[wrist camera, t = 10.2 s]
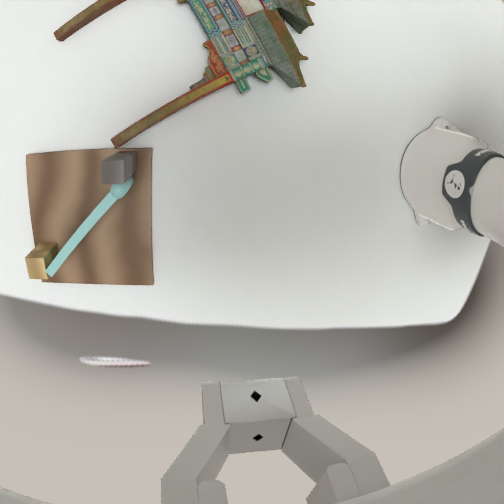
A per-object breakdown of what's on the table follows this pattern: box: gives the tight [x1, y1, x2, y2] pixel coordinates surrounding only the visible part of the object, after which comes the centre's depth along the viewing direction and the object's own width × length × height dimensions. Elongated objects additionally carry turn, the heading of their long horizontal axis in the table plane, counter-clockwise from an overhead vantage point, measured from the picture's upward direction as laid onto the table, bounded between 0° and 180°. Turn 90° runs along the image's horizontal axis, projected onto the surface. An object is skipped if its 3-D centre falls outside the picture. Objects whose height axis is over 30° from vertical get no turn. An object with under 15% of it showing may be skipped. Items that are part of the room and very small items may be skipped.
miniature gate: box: [54, 0, 315, 148], centre depth 29 cm, size 27×6×30 cm
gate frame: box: [25, 148, 154, 285], centre depth 34 cm, size 18×19×9 cm
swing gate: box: [45, 176, 134, 277], centre depth 35 cm, size 2×16×5 cm, turn 129°
